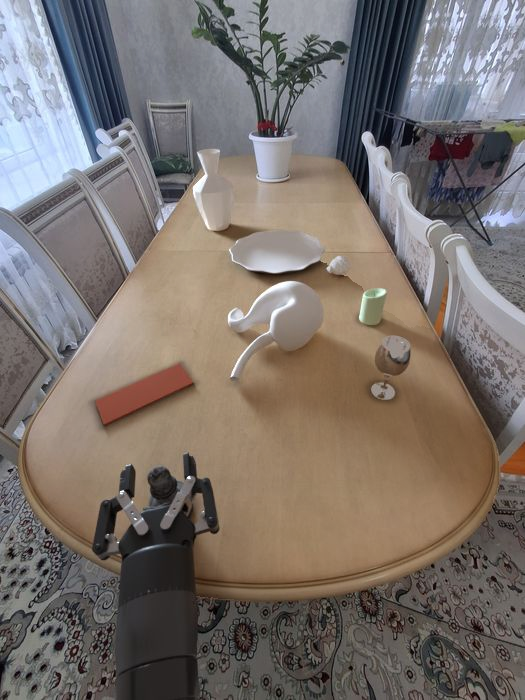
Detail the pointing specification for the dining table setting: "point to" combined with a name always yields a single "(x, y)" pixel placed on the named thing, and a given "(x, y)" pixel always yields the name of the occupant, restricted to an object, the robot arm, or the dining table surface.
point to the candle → (372, 306)
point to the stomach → (279, 319)
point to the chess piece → (163, 487)
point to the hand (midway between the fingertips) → (159, 461)
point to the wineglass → (390, 363)
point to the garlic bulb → (339, 265)
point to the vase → (214, 193)
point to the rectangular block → (142, 393)
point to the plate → (277, 251)
